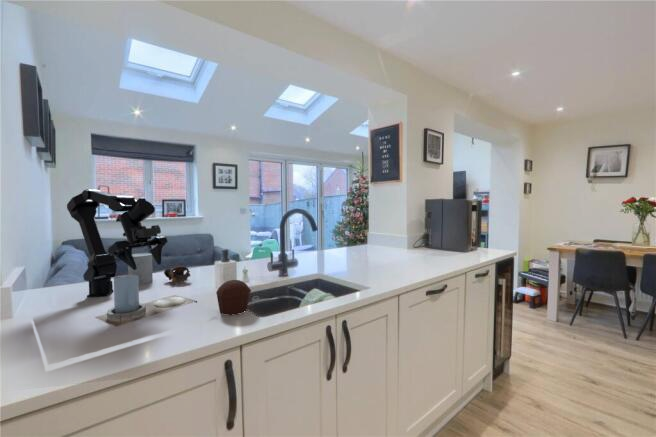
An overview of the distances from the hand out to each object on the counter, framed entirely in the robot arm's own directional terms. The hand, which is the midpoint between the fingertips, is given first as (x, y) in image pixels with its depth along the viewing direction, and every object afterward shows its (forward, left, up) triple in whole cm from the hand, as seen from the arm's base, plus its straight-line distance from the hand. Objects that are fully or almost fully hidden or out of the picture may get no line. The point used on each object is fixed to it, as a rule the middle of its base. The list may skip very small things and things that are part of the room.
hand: (148, 266), depth 107 cm
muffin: (+30, -12, -14) cm, 35 cm away
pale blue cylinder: (-1, -14, -12) cm, 19 cm away
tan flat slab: (+3, -8, -13) cm, 16 cm away
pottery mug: (+2, +30, -14) cm, 33 cm away
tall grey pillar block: (-14, +34, -14) cm, 39 cm away
